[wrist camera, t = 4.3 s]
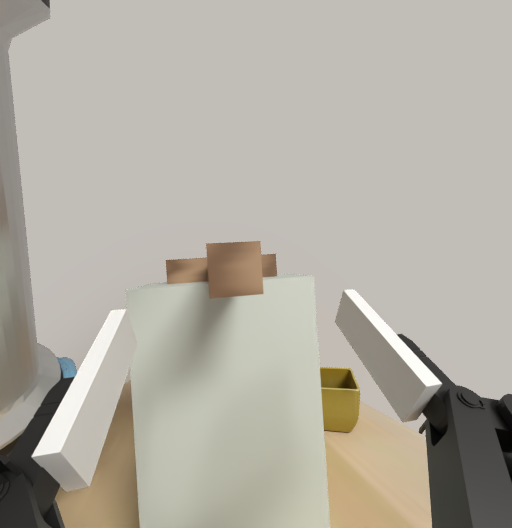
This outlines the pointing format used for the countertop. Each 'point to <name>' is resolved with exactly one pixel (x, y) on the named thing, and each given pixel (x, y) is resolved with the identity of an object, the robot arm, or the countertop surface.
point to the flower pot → (339, 399)
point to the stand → (228, 407)
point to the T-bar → (226, 269)
